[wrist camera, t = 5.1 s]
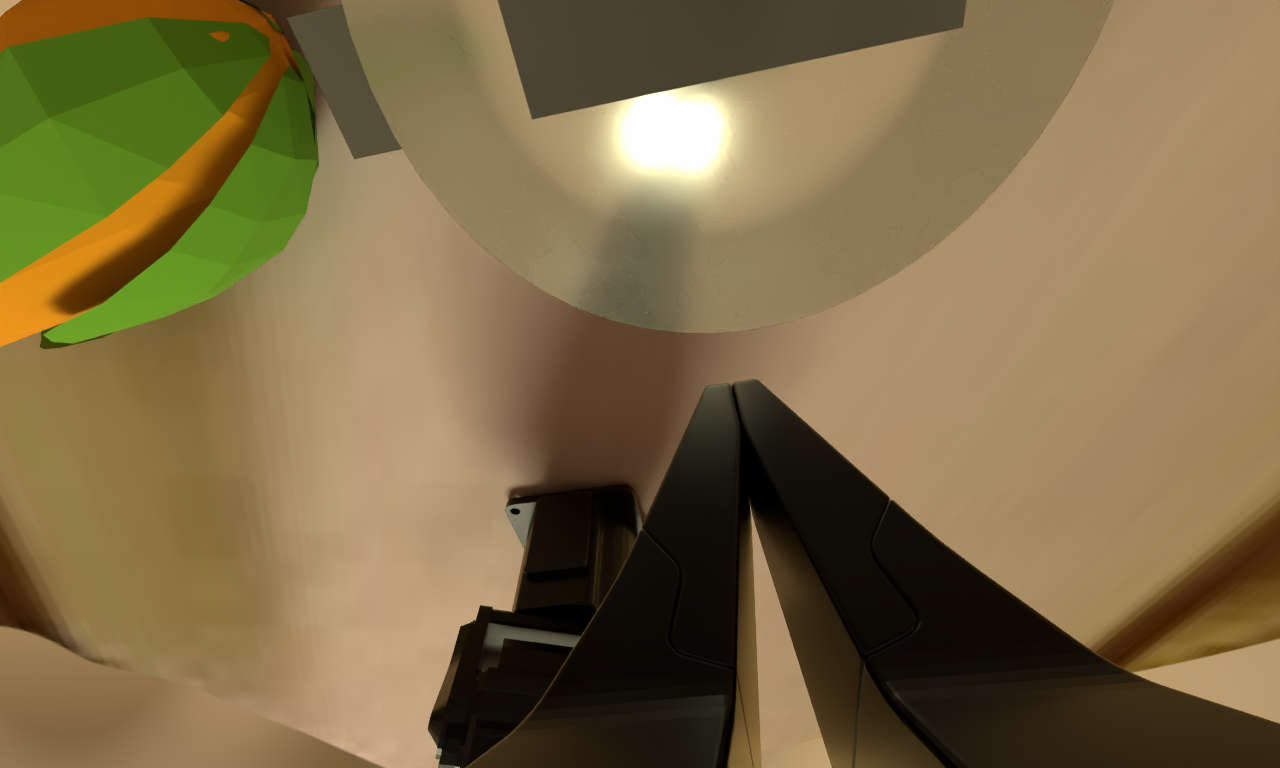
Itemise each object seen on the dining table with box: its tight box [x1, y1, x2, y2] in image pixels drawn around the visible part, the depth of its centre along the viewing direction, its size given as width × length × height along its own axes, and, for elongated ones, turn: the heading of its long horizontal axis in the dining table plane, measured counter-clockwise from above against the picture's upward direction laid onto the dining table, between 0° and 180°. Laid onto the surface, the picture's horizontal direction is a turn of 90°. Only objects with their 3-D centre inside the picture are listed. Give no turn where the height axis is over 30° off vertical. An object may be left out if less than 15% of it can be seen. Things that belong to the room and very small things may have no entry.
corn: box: [0, 0, 319, 349], centre depth 16 cm, size 7×8×20 cm
